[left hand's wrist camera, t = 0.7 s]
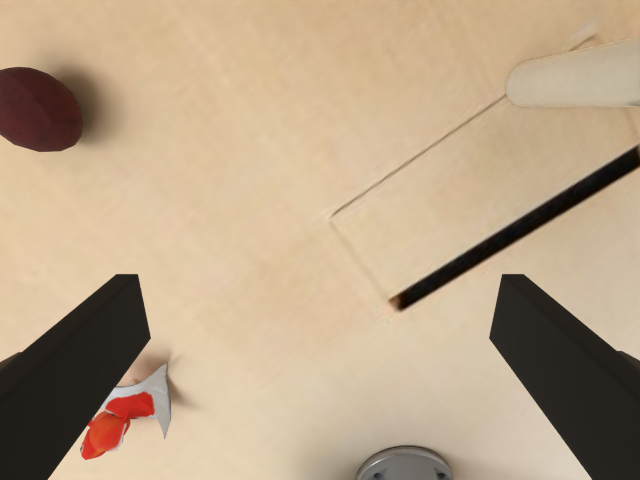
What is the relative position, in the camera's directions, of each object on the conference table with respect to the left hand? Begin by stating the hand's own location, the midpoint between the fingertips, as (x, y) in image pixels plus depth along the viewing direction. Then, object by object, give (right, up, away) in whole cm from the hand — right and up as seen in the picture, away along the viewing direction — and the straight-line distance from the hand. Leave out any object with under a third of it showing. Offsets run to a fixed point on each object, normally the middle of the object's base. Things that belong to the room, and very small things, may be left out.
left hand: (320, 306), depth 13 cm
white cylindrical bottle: (+21, +18, +23) cm, 36 cm away
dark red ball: (-27, +16, +24) cm, 39 cm away
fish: (-26, -18, +37) cm, 49 cm away
